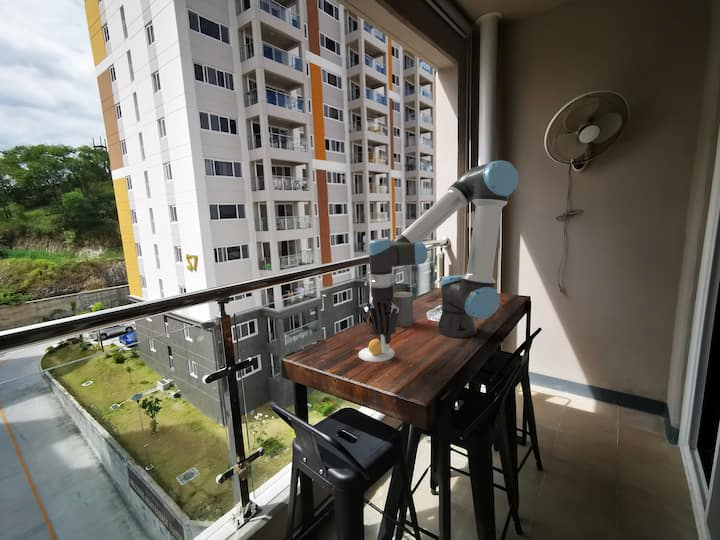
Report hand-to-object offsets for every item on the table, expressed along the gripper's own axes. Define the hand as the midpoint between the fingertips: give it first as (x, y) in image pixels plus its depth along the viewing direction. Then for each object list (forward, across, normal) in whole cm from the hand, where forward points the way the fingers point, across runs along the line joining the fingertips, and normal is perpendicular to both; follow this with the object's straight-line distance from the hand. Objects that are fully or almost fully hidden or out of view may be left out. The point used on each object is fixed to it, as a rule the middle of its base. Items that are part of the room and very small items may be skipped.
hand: (385, 351), depth 113 cm
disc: (+2, -4, 0) cm, 5 cm away
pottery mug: (+2, -22, +19) cm, 29 cm away
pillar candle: (+2, -15, +32) cm, 35 cm away
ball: (-1, -4, 0) cm, 4 cm away
